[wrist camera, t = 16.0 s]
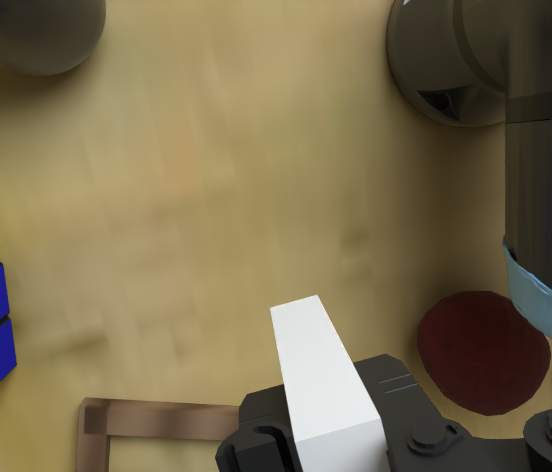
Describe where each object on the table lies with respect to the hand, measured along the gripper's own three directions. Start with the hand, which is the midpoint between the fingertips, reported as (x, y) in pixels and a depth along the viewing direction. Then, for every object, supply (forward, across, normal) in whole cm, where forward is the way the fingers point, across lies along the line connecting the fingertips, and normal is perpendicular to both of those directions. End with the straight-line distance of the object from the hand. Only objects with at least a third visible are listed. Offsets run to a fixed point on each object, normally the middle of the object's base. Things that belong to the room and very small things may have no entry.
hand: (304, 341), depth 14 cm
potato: (+29, +16, -17) cm, 37 cm away
